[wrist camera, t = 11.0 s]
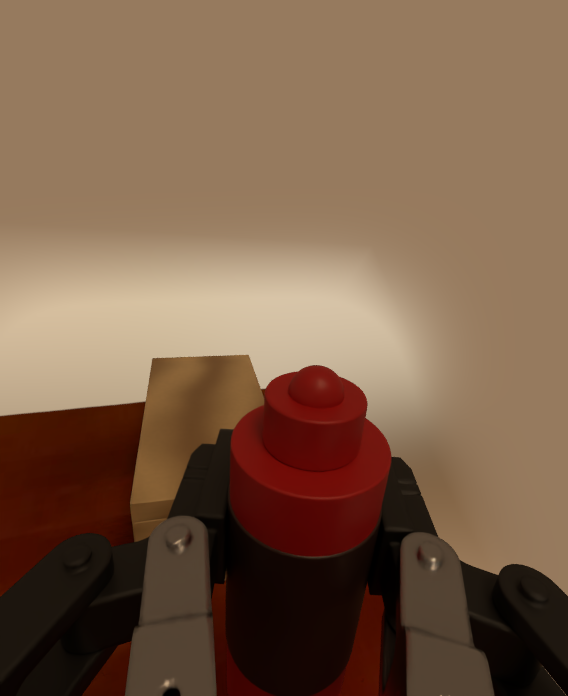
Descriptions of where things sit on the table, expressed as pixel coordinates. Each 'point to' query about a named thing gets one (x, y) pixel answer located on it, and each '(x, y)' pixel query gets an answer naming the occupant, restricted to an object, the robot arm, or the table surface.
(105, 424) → the table surface
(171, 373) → the wooden block
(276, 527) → the red water bottle
